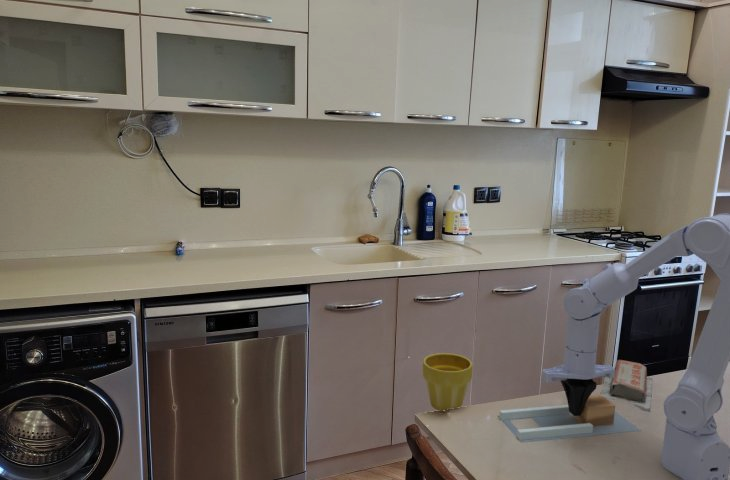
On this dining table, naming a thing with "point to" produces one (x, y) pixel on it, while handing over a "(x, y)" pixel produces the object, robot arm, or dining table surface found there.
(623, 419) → the channel
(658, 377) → the dining table surface
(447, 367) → the plant pot
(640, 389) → the packaged product
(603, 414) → the block
